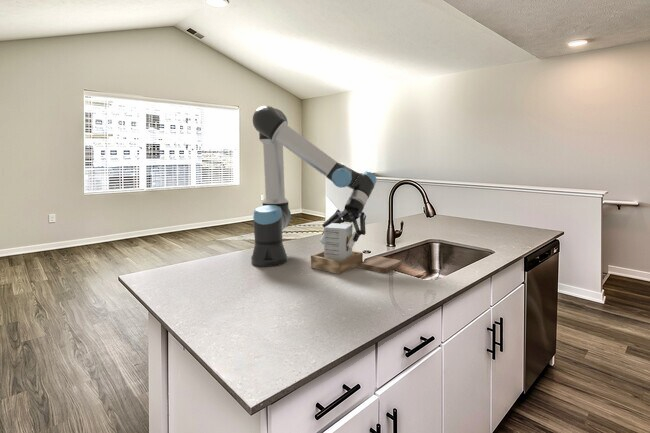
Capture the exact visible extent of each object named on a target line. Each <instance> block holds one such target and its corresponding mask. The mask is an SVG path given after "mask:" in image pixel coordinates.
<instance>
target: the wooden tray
mask: <svg viewBox="0 0 650 433" xmlns="http://www.w3.org/2000/svg"><path fill="white" fill-rule="evenodd" d="M363 255H364V254H363V252H361V251H354V250H352V256H351V257H349V258H346V259H344V260H341V261H337V260H333V259H328V258H324V251H321V252H318V253H315V254H312V255H310V268H313V269H317V270H320V271H324V272H329V273H332V274H338V275H342V274H344V273H347V272H349V271H351V270H353V269H356V268H359V263H361V262H363V261H364V260H363V258H364V256H363Z"/></svg>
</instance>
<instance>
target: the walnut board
mask: <svg viewBox="0 0 650 433" xmlns="http://www.w3.org/2000/svg"><path fill="white" fill-rule="evenodd" d="M402 262H403V261H402V259H401V260H399V259H395V258H390V257H383V256H378V255H375V256H372V257H370V258H368V259H366V260H363V262H361V263H359V266H358V268H359V269H362V270H368V271H372V272H378V273H381V274H388V273H390V272H392V271H394V270H396V269H397V268H399V267H401V266H403V265H402Z"/></svg>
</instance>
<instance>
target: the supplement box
mask: <svg viewBox="0 0 650 433" xmlns="http://www.w3.org/2000/svg"><path fill="white" fill-rule="evenodd" d="M323 231H324V244H323V248H324V249H323V252H324V258H328V259H333V260H337V261H341V260H344V259H346V258H349V257H351V256H352V251H353V248H352V249H349V247H348V246H347V245H348V243H349V241H350V238H351V236H352V234H353V223H352V224H351V223H340V224H339V223H331V224H330V225H328V226H326V227H323Z"/></svg>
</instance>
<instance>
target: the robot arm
mask: <svg viewBox="0 0 650 433" xmlns="http://www.w3.org/2000/svg"><path fill="white" fill-rule="evenodd" d="M252 124H253V125H252V126H253V127H254V128H255V130H256V131H257V133H259V134H258V135H259V136H258V137H259V138H258V139H259V141H260V142H261V143H262V146H263V147H262V148H263V166H264V167H263V168H264V170H263V171H264V189H265V192H264V193H265V198H264V200H263V201H262V206H258V207H256V208H255V209H254V210H253V215H252V218H253V228H254V229H253V230H254V231H253V233H254V234H253V235H254V247H253V250H252V254H251V257H250V258H251V264H252V265H253V266H257V267H276V266H281V265H284V264H286V263H287V262H288V254H287V253H286V249H285V246H284V244H283V243H284V241H283V240H284V239H283V230H284V229H286V228H287V227H288V226H289V224H290V222H291V218H292V213H291V212H292V211H291V209H290V207H289V200H288V199H287V198H286V195H285V194H286V191H285V171H284V170H285V166H284V147H285V148H286V149H287V150H289V151H290V152H292V153H293V154H294V155H296V156H297V157H298V158H299V159H301V160H302V161H304V162H305V163H306V164H308V165H309V166H310V167H312V168H313V169H314V170H316V171H317V172H318V173H320V174H322V176H324V177H326V178H327V179H328V180H329V181H331V183H333V185H334V186H336V187H337V188H346V187H347V188H349V189H352V192H351V194H350V195H349V197H348V199H347V201H346V203H345V205H344V209H343V210H342V211H341V210H340V209H336V211H335V212H334V213H333V215H331V216H330V217H329V218H328V219H326V221H324V222H323V224H322V227H323V228H324V227H326V226H328V225H330V224H331V223H339V224H345V223H349V224H351V223H352V225H353V227H354V229H355V231H352V236H351V238H350V241H349V243H348V245H347V246H348V247H349V249H352V250H353V247H354V245H355V243H357V241H358V240H359V238H360V236H361V235H363V236H366V233H367V232H366V218H367V215H366V213H365V212H364V211H363V210H364V208H365V206H366V205H367V202H368V200H369V198H370V196H371V194H372V192H373V190H374V189H375V185H376V183H377V176H376V175H375V174H374V173H373V172H371V171H368V170H367V171H366V170H365V171H363V172H357V171H355V170H353V169H352V168H351V167H350V168H349V167H348V166H346V165H344V164H342V163H339V162H338V161H336V160H335V159H334V158H332V157H331V156H329V155H328V154H327V153H326V152H324V151H323V150H321V149H320V148H319V147H318V146H316V145H315V144H313V142H310V141H309V140H308V139H307V138H305V137H304V136H303V135H301V134H300V133H298V132H297V131H296V130H295V129H293V128H292V127H290V126H289V122H288V119H287V116H286V115H285V113H284V112H282V110H280V109H278V108H275V107H273V106H270V105H262V106H260V107H258V108H257V109H256V110H255V111H254V112H253V115H252ZM357 219H359V224H358V221H357ZM359 225H360V227H359ZM319 242H320V243H321V244H322V245H324V230H323V232H322V236H321V238H320V239H319Z"/></svg>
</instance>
